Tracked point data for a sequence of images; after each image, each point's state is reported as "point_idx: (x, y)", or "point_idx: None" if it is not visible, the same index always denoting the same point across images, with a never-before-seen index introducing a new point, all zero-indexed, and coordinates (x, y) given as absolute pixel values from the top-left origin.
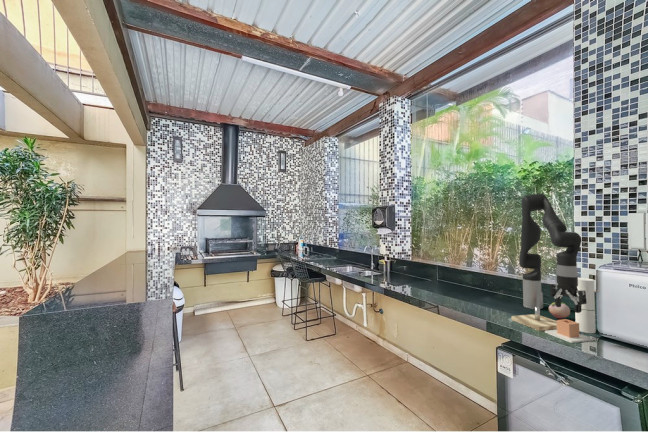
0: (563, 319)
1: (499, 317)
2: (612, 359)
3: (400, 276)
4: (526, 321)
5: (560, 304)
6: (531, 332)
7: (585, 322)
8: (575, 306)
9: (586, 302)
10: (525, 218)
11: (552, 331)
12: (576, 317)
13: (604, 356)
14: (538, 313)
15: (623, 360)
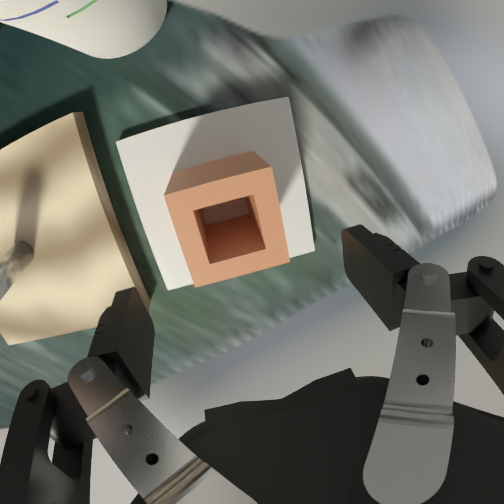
0: (174, 225)
1: (4, 359)
2: (449, 206)
3: None
4: (67, 326)
5: (132, 307)
6: (176, 343)
7: (142, 17)
8: (382, 311)
9: (502, 265)
10: None
11: (174, 256)
12: (75, 44)
13: (431, 213)
14: (12, 277)
15: (460, 173)
